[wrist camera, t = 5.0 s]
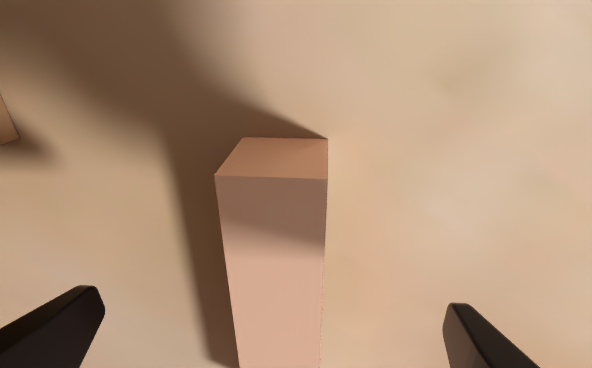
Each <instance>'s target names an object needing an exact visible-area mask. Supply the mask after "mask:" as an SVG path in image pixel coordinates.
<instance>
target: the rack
mask: <svg viewBox="0 0 592 368" xmlns="http://www.w3.org/2000/svg"><path fill="white" fill-rule="evenodd" d="M18 138H19V136H18V134H17V132H16V129H15V127H14V125H13V123H12V120H11V118H10V116H9V113H8V111H7V109H6V107H5V104H4V102H3V100H2V97H1V95H0V145H2V144H4V143H7V142H10V141H12V140H15V139H18Z"/></svg>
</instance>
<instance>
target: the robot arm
mask: <svg viewBox="0 0 592 368" xmlns="http://www.w3.org/2000/svg"><path fill="white" fill-rule="evenodd" d="M104 315H105V306H104V304H103V301H102V299H101V296H100V294H99V292H98V289H97V288H96V287H95V286H88V285H79V286H76V287H74V288H73V289H71V290H69V291H67V292H65V293H64V294H62V295H60V296H58V297H56V298H55V299H53V300H51V301H49V302H47V303H46V304H44V305H42V306H40V307H38V308H37V309H35V310H33V311H31V312H29V313H28V314H26V315H24V316H22V317H20V318H18V319H17V320H15V321H13V322H11V323H9V324H8V325H6V326H4V327H2V328H0V368H79V367H80V365H81V363H82V361H83V359H84V357H85V355H86V353H87V351H88V349H89V347H90V345H91V343H92V341H93V339H94V336H95V334H96V332H97V330H98V328H99V326H100V324H101V322H102V320H103V318H104ZM443 338H444V342H445V346H446V351H447V355H448V359H449V364H450V368H540V367H539V366H538V365H537V364H535V363H534V362H533V361H532V360H531V359H530V358H529V357H528V356H526V355H525V354H524V353H523V352H522V351H521V350H520V349H519V348H518V347H516V346H515V345H514V344H513V343H512V342H511V341H510V340H509V339H507V338H506V337H505V336H504V335H503V334H502V333H501V332H500V331H498V330H497V329H496V328H495V327H494V326H493V325H492V324H491V323H490V322H488V321H487V320H486V319H485V318H484V317H483V316H482V315H481V314H479V313H478V312H477V311H476V310H475V309H474V308H473V307H472V306H470V305H469V304H466V303H450V304H449V305H448V307H447V311H446V315H445V319H444V323H443Z"/></svg>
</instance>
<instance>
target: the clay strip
mask: <svg viewBox="0 0 592 368" xmlns="http://www.w3.org/2000/svg"><path fill="white" fill-rule="evenodd" d="M214 180H215V187H216V195H217V202H218V209H219V217H220V224H221V232H222V239H223V247H224V254H225V262H226V269H227V276H228V284H229V291H230V299H231V306H232V314H233V321H234V328H235V336H236V343H237V351H238V358H239V366H240V368H320V350H321V326H322V303H323V279H324V255H325V232H326V208H327V185H328V139H308V138H264V137H243V138H242V139H241V140H240V142H239V143H238V144H237V146H236V147H235V148H234V150H233V151H232V152H231V153H230V155H229V156H228V157H227V159H226V160H225V161H224V163H223V164H222V165H221V167H220V168H219V169H218V171H217V172H216V173H215V174H214Z"/></svg>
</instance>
